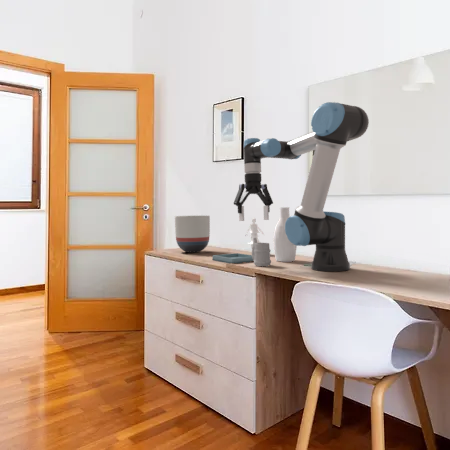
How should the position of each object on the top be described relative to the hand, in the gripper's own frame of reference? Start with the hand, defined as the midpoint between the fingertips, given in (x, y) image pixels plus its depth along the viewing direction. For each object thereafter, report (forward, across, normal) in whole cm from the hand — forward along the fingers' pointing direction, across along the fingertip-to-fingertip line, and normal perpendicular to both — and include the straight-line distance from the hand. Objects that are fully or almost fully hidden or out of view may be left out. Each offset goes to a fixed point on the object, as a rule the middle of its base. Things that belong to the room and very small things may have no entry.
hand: (254, 220), depth 191 cm
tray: (+20, 0, -16) cm, 25 cm away
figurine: (+19, -22, -31) cm, 43 cm away
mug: (+20, 0, +4) cm, 20 cm away
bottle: (+20, -18, 0) cm, 27 cm away
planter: (+19, -2, -66) cm, 69 cm away
